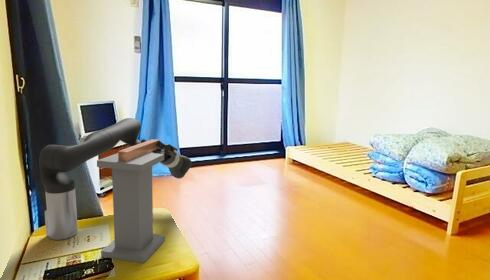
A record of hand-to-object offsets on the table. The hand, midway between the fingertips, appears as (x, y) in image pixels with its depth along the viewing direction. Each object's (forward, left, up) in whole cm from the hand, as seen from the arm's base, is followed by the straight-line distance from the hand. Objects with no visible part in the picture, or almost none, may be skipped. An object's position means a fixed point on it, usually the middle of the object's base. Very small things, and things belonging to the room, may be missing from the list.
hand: (149, 142), depth 114 cm
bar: (0, -6, -3) cm, 7 cm away
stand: (0, -12, -35) cm, 37 cm away
